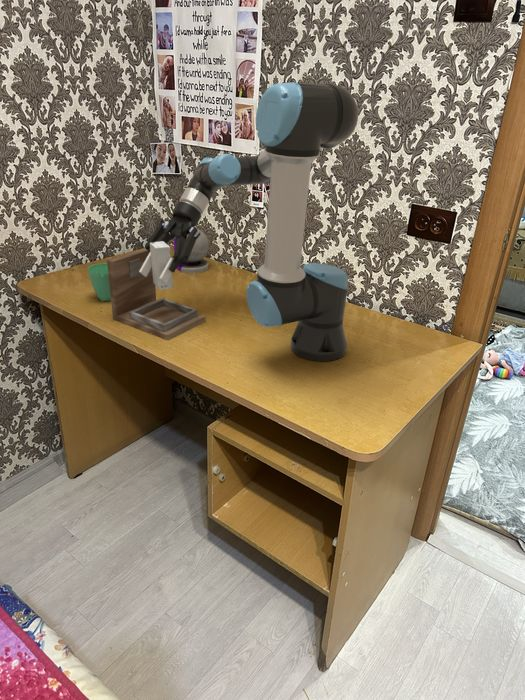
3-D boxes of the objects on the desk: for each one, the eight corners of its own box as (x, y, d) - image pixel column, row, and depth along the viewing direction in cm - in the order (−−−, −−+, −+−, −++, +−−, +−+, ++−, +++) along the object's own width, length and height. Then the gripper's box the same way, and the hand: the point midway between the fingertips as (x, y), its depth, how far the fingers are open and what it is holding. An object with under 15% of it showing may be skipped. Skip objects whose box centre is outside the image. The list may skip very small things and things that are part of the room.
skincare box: (173, 288, 150) (171, 246, 144) (158, 290, 148) (155, 248, 142) (166, 281, 154) (164, 240, 149) (151, 283, 153) (149, 242, 147)
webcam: (172, 262, 203) (170, 224, 196) (204, 260, 207) (204, 222, 200) (177, 274, 192) (176, 233, 185) (212, 271, 196) (212, 231, 189)
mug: (99, 306, 164) (96, 275, 159) (85, 296, 170) (82, 266, 166) (141, 296, 173) (139, 266, 168) (127, 287, 179) (124, 258, 174)
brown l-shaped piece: (205, 321, 158) (204, 263, 149) (167, 340, 146) (164, 278, 137) (151, 302, 168) (148, 247, 160) (112, 318, 156) (107, 260, 148)
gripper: (223, 222, 150) (186, 292, 145) (171, 210, 159) (134, 275, 155) (211, 206, 143) (172, 279, 139) (157, 195, 153) (119, 262, 148)
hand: (152, 277), depth 147 cm, fingers closed on skincare box, 7 cm apart
